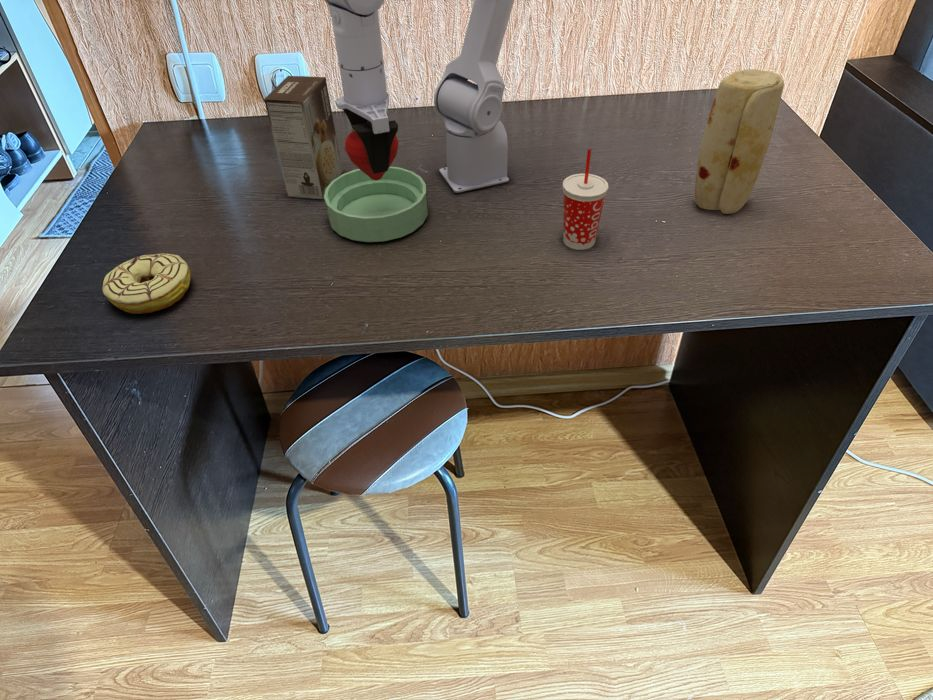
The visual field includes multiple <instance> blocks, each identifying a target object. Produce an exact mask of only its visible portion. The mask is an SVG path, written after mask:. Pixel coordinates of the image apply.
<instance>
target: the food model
mask: <svg viewBox="0 0 933 700" xmlns="http://www.w3.org/2000/svg"><path fill="white" fill-rule="evenodd" d="M784 86H785V80H784V79H783V78H782V76H781V75H780V74H778V73H776V72H774V71H771V70H762V69H757V68H755V69H754V68H753V69H751V68H750V69H748V68H747V69H742V70H736V71H733V72H731V73H729V74H728V75H727V76H725V77H723V79H722V80H721V81H720V83H719V85H718V87H717V90H716V92H715V96H714V99H713V102H712V106H711V109H710V112H709V115H708V118H707V121H706V125H705V128H704V133H703V136H702V140H701V143H700V149H699V155H698V161H697V169H696V176H695V185H694V201H695V203H696V205H697V206H698V208H700V209H704V210H708V211H709V210H710V211H721V213H722V214H724V215H727V214H728V215H732V214H735V213H736V212H739V211H740V210H741V209H742V208H743V207H744V205H745V204H746V203H747V202H748V200H749V198H750V197H751V195H752V193H753V190H754V187H755V184H756V183H757V180H758V177H759V174H760V172H761V170H762V166H763V163H764V161H765V158H766V155H767V152H768V149H769V147H770V143H771V140H772V136H773V132H774V129H775V128H774V127H775V124H776V120H777V114H778V111H779V108H780V103H781V99H782V95H783V91H784Z"/></svg>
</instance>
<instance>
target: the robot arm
mask: <svg viewBox="0 0 933 700" xmlns="http://www.w3.org/2000/svg"><path fill="white" fill-rule="evenodd" d="M323 1H324V2H325V3H326V5H327V6H328V10H329V17H330V18H331V23H332V30H333V37H334V43H335V49H336V55H337V63H338V67H339V75H340V81H341V87H342V94H343V96H342V97H338V98H336V99H335V100H334V101H335V106H336V108H337V109H339V110H342V111H343V112H344V114H345V115H346V117H347V119H348V121H349V123H350V126H351V129H354V130H355V131H356V133H357V134H358V136H359V137H360V139H361V141H362V143H363V145H364V148H365V150H366V154H367V157H368V161H369V164H370V167H371V169H372V171H373V173H374V174H375V173H380V172H385V171H388V167H389V160H390V152H391V146H392V143H393V140H394V137H395V135H396V136H397V133H398V131H399V124H398V122H397V121H396V120H389V116H388V111H389V104H390V95H389V93H388V89H387V80H386V79H387V78H386V69H385V61H384V54H383V44H382V34H381V33H382V32H381V25H380V16H379V9H381V7H382V6H383V4H384V1H385V0H323ZM514 3H515V0H473V4H472V7H471V12H470V16H469V19H468V23H467V27H466V31H465V35H464V36H465V37H464V39H463V43H462V47H461V51H460V55H458V56H457V57H456V58H454V59H453V60H451V61H450V62H448V63H447V64H446V65H445V69H444V73H443V76H442V77H441V79H440V81H439V82H438V84H437V85H436V88H435V90H434V95H433V104H434V108H435V110H436V112H437V113H438V114H439V115H441V116H442V118H441V119H442V123H443V124H444V129H445V150H446V167H441V168H439V173H440V175H441V176H442V178H443V179H444V180H445V182H446V183H447V185H448V186H449V187H450V188H451V190H452V191H453V193H455V194H458V193H464V192H469V191H472V190H478V189H482V188H488V187H491V186H496V185H501V184H505V183H509V181H510V178H509V177H508V162H509V161H508V159H509V157H508V155H509V153H508V152H509V141H508V134H507V130H506V128H505V126H504V123H503V122H502V121H501V120H500V119H501V117H502V113H503V98H504V97H503V96H504V91H505V89H506V84H505V82H504V80H503V78H502V76H501V74H500V72H499V70H498V68H497V63H498V61H499V57H500V53H501V50H502V45H503V42H504V38H505V35H506V32H507V28H508V24H509V20H510V17H511V14H512V10H513V6H514ZM367 121H368V123H367Z"/></svg>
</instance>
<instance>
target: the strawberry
mask: <svg viewBox="0 0 933 700" xmlns="http://www.w3.org/2000/svg"><path fill="white" fill-rule="evenodd" d="M367 123H368V121H367ZM399 144H400V143H399V139H398V136H397V134H396V135H395V137H394V140H393V143H392V146H391V152H390V160H389V167H390V166H391V167H392V164H393V162H394V161H395V159H396V157H397V154H398V149H399ZM344 151H345V153H346V154H347V156H348V159H349V160H350V161H351V163H352V164H353V165H354V166H355V167H357V169H360V170H361V171H362V172H364V173H365V174H366V175H368V176H369V177H370V178H371V179H372V180H375V181H377V180H380V179H381V178H382V177H383V175H384V174H385V172H386V171H385V172H380V173H375V174H374V173H373V171H372V169H371V167H370V164H369V161H368V157H367V154H366V150H365V148H364V145H363V143H362V141H361V139H360V137H359V136H358V134H357V133H356V131H355V130H354V129H353V128H351V132H349V134H348V135H347V137H345V139H344ZM389 167H388V168H389Z"/></svg>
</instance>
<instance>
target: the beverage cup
mask: <svg viewBox="0 0 933 700" xmlns="http://www.w3.org/2000/svg"><path fill="white" fill-rule="evenodd" d="M591 158H592V148H587V154H586V161H585V162H586V163H585V170H584V173H575V174H571V175H569V176H567V177H566V178H564V180H563V181H562V193H563V194H564V195H563V226H562V227H563V228H562V229H563V233H562V242H563V244H564V245H565V246H566V247H568V248H570V249H573V250H581V251H582V250H588V249H591V248H592V247H593V246H594V245H595V244H596V241H597V236H598V231H599V226H600V221H601V216H602V212H603V208H604V207H603V206H604V203H605V197H606V196H607V194H608V191H609V183H608V182H607V180H606V179H605V178H603V177H601V176H599V175H597V174H592V173H590V166H591Z"/></svg>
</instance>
